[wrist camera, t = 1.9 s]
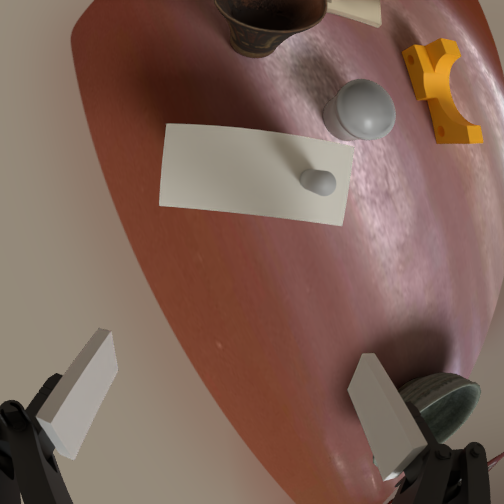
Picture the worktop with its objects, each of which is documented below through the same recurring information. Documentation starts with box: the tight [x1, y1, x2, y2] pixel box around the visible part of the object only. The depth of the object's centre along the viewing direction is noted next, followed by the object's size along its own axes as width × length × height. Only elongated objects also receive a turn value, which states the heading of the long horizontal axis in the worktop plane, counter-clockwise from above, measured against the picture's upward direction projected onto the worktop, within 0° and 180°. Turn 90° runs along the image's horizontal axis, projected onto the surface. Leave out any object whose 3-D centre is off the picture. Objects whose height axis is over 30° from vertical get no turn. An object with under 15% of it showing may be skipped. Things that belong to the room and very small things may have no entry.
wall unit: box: [159, 124, 354, 226], centre depth 20 cm, size 5×11×16 cm, turn 83°
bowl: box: [373, 372, 481, 467], centre depth 34 cm, size 21×21×10 cm
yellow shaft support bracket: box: [402, 38, 483, 144], centre depth 21 cm, size 12×4×6 cm, turn 14°
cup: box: [214, 0, 328, 58], centre depth 18 cm, size 9×9×10 cm
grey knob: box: [323, 79, 396, 141], centre depth 23 cm, size 6×6×6 cm
